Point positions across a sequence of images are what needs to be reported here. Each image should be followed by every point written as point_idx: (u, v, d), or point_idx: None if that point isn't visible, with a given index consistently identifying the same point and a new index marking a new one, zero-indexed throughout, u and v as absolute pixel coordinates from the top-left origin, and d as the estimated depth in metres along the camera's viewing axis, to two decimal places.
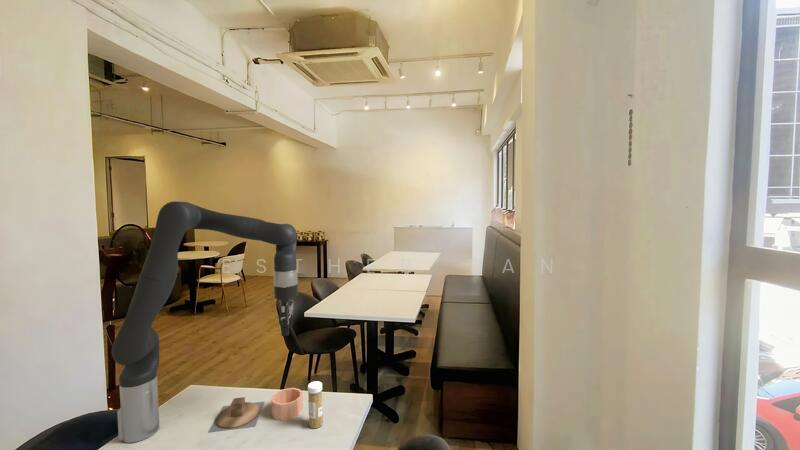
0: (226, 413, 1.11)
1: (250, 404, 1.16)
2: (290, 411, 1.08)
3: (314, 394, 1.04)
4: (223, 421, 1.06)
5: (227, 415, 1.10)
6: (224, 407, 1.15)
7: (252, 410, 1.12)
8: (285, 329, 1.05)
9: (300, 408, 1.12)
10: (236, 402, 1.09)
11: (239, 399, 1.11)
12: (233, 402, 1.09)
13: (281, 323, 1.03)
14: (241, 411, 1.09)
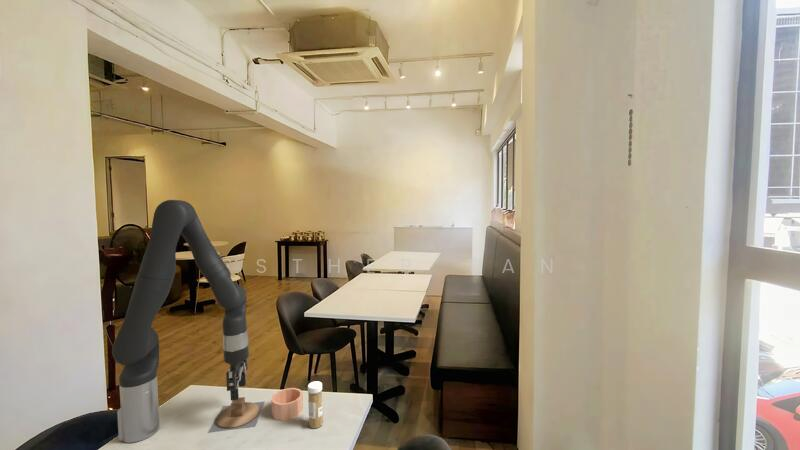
0: (226, 413, 1.11)
1: (250, 404, 1.16)
2: (290, 411, 1.08)
3: (314, 394, 1.04)
4: (223, 421, 1.06)
5: (227, 415, 1.10)
6: (224, 407, 1.15)
7: (252, 410, 1.12)
8: (234, 394, 1.05)
9: (300, 408, 1.12)
10: (236, 402, 1.09)
11: (239, 399, 1.11)
12: (233, 402, 1.09)
13: (229, 389, 1.03)
14: (241, 411, 1.09)
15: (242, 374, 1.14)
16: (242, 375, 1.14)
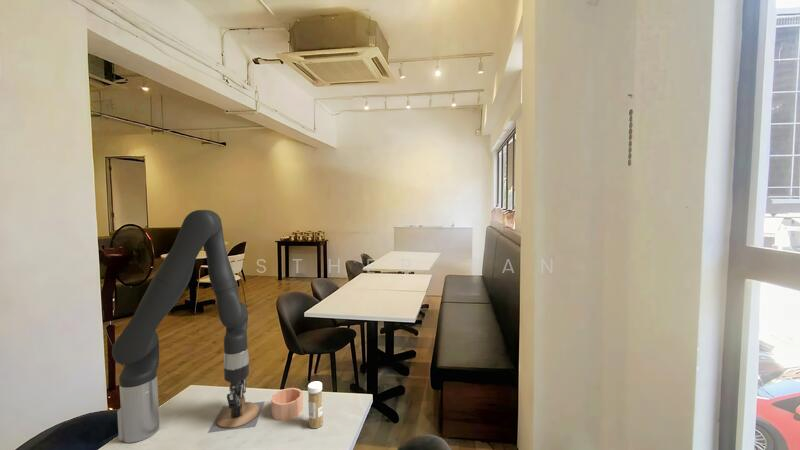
0: (226, 413, 1.11)
1: (250, 404, 1.16)
2: (290, 411, 1.08)
3: (314, 394, 1.04)
4: (223, 421, 1.06)
5: (227, 415, 1.10)
6: (224, 407, 1.15)
7: (252, 410, 1.12)
8: (236, 411, 1.07)
9: (300, 408, 1.12)
10: None
11: None
12: None
13: (231, 407, 1.05)
14: (241, 411, 1.09)
15: None
16: None
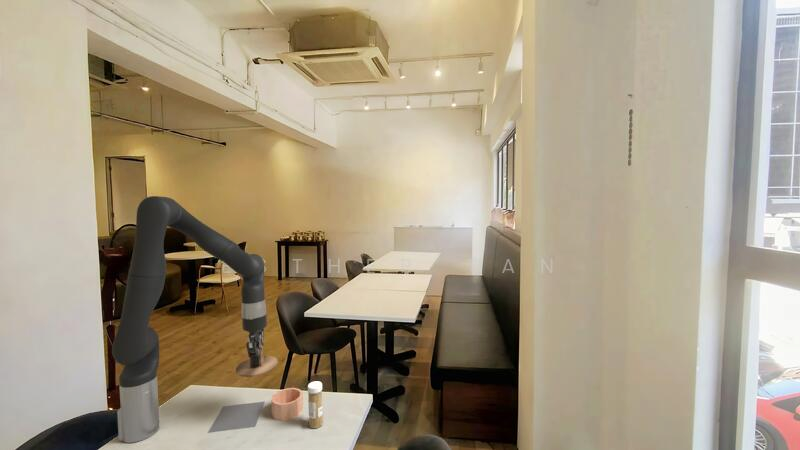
0: (245, 364, 1.11)
1: (268, 357, 1.16)
2: (290, 411, 1.08)
3: (314, 394, 1.04)
4: (243, 370, 1.07)
5: (246, 366, 1.10)
6: (224, 407, 1.15)
7: (271, 361, 1.12)
8: (255, 361, 1.08)
9: (300, 408, 1.12)
10: None
11: None
12: None
13: (250, 355, 1.06)
14: (260, 361, 1.09)
15: (258, 349, 1.12)
16: None
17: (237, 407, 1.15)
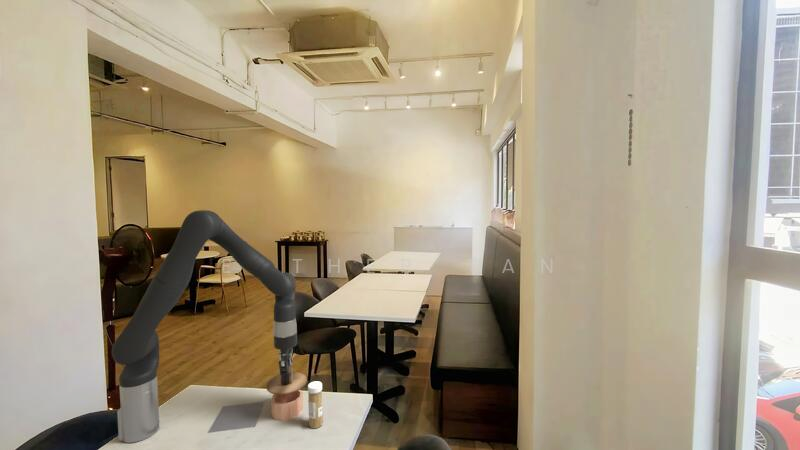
0: (275, 381, 1.13)
1: (296, 374, 1.18)
2: (290, 411, 1.08)
3: (314, 394, 1.04)
4: (274, 388, 1.08)
5: (276, 383, 1.12)
6: (224, 407, 1.15)
7: (300, 379, 1.14)
8: (286, 378, 1.09)
9: (300, 408, 1.12)
10: None
11: None
12: None
13: (282, 374, 1.07)
14: (290, 379, 1.11)
15: None
16: None
17: (237, 407, 1.15)
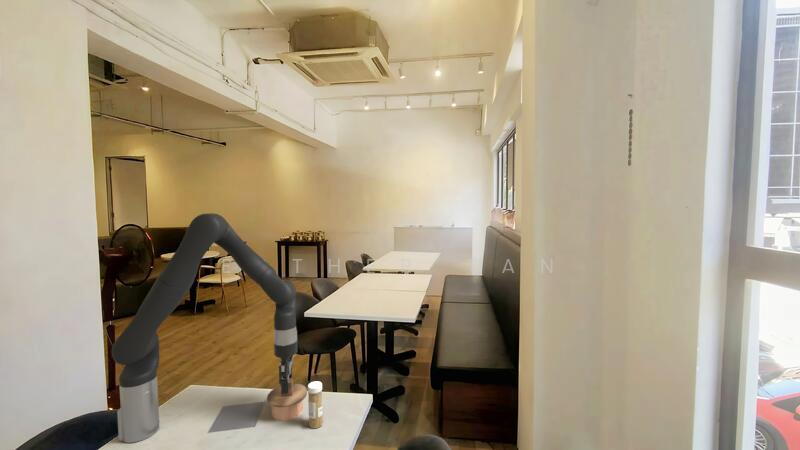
0: (275, 393, 1.13)
1: (297, 385, 1.18)
2: (290, 411, 1.08)
3: (314, 394, 1.04)
4: (274, 400, 1.09)
5: (277, 395, 1.12)
6: (224, 407, 1.15)
7: (300, 390, 1.14)
8: (285, 387, 1.07)
9: (300, 408, 1.12)
10: None
11: None
12: None
13: (281, 382, 1.05)
14: (291, 391, 1.11)
15: None
16: None
17: (237, 407, 1.15)
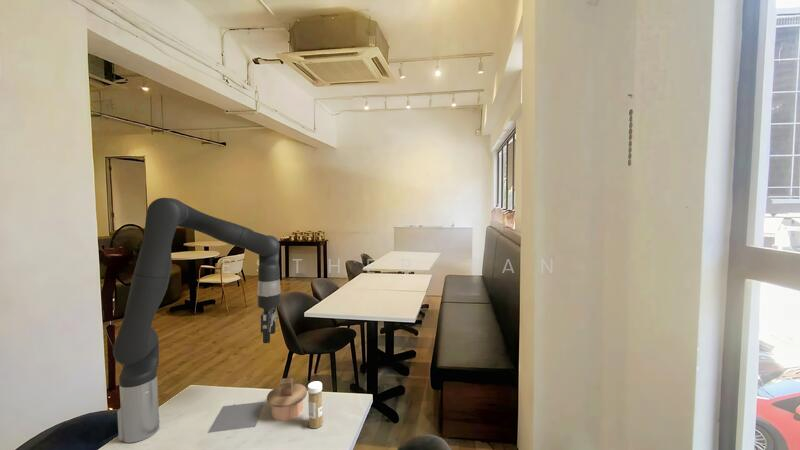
0: (275, 393, 1.13)
1: (296, 385, 1.18)
2: (290, 411, 1.08)
3: (314, 394, 1.04)
4: (274, 400, 1.09)
5: (276, 395, 1.12)
6: (224, 407, 1.15)
7: (300, 390, 1.14)
8: (266, 336, 1.10)
9: (300, 408, 1.12)
10: (286, 382, 1.11)
11: (288, 379, 1.13)
12: (282, 382, 1.11)
13: (262, 331, 1.08)
14: (290, 391, 1.11)
15: (272, 322, 1.19)
16: (272, 323, 1.19)
17: (237, 407, 1.15)
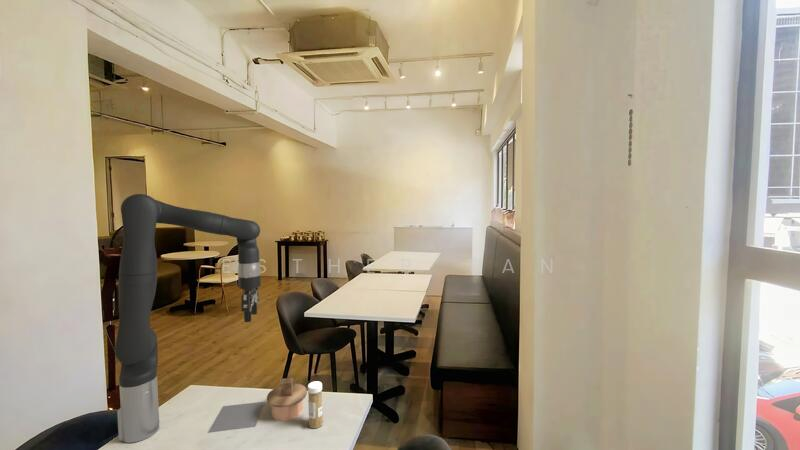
0: (275, 393, 1.13)
1: (296, 385, 1.18)
2: (290, 411, 1.08)
3: (314, 394, 1.04)
4: (274, 400, 1.09)
5: (276, 395, 1.12)
6: (224, 407, 1.15)
7: (300, 390, 1.14)
8: (247, 316, 1.16)
9: (300, 408, 1.12)
10: (286, 382, 1.11)
11: (288, 379, 1.13)
12: (282, 382, 1.11)
13: (243, 310, 1.14)
14: (290, 391, 1.11)
15: (254, 303, 1.25)
16: (254, 304, 1.25)
17: (237, 407, 1.15)
